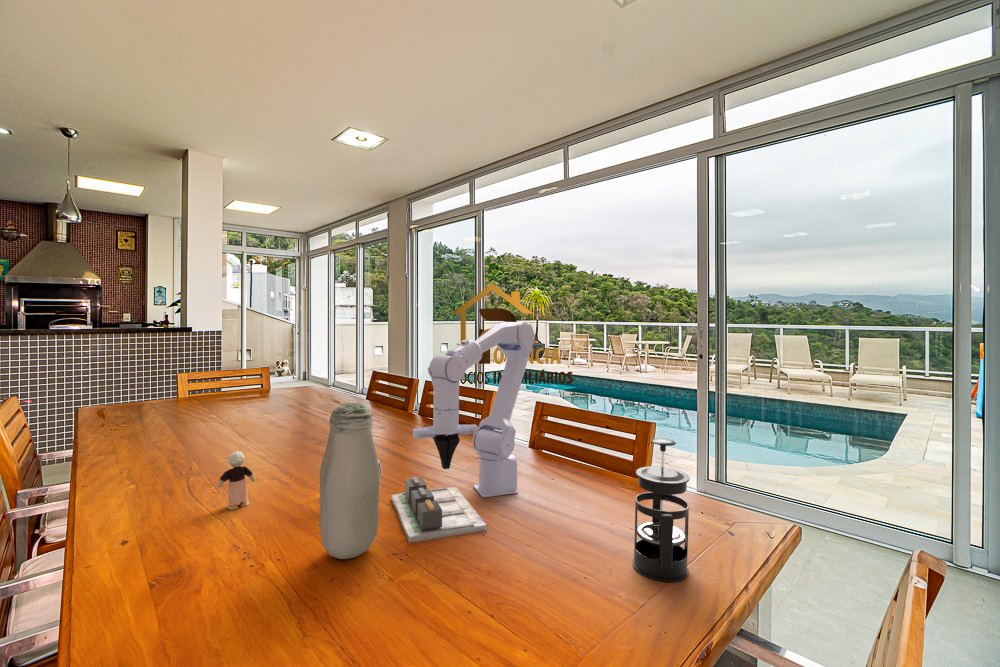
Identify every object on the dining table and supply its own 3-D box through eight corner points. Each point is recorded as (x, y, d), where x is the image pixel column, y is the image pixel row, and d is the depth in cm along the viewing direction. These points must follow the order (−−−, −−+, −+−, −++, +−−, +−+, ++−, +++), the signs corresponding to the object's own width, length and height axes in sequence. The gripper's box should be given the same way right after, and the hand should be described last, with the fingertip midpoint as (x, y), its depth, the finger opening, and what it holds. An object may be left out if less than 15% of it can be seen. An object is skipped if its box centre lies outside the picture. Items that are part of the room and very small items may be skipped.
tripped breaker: (436, 516, 100) (436, 497, 100) (441, 526, 95) (442, 506, 95) (417, 519, 98) (417, 500, 98) (422, 529, 94) (422, 509, 93)
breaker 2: (428, 503, 107) (428, 485, 107) (433, 512, 102) (433, 493, 102) (411, 506, 105) (411, 488, 105) (415, 514, 101) (415, 496, 100)
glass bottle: (347, 574, 80) (347, 411, 79) (309, 557, 85) (309, 404, 84) (389, 550, 88) (390, 402, 87) (352, 536, 94) (352, 397, 93)
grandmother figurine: (249, 499, 112) (248, 446, 111) (257, 503, 109) (257, 449, 109) (214, 510, 105) (213, 454, 105) (222, 514, 103) (222, 457, 103)
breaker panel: (455, 491, 118) (455, 485, 118) (486, 530, 97) (486, 523, 97) (391, 499, 113) (391, 493, 113) (408, 542, 91) (408, 535, 91)
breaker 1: (421, 492, 114) (422, 475, 114) (426, 499, 109) (426, 482, 109) (405, 494, 112) (405, 477, 112) (409, 501, 108) (409, 484, 107)
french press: (629, 550, 89) (632, 431, 89) (681, 555, 88) (684, 433, 87) (636, 584, 78) (639, 447, 77) (696, 591, 76) (700, 451, 75)
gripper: (417, 413, 100) (417, 476, 100) (482, 409, 105) (481, 469, 105) (411, 407, 106) (411, 466, 107) (472, 404, 111) (471, 460, 112)
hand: (445, 467), depth 106 cm, fingers closed
